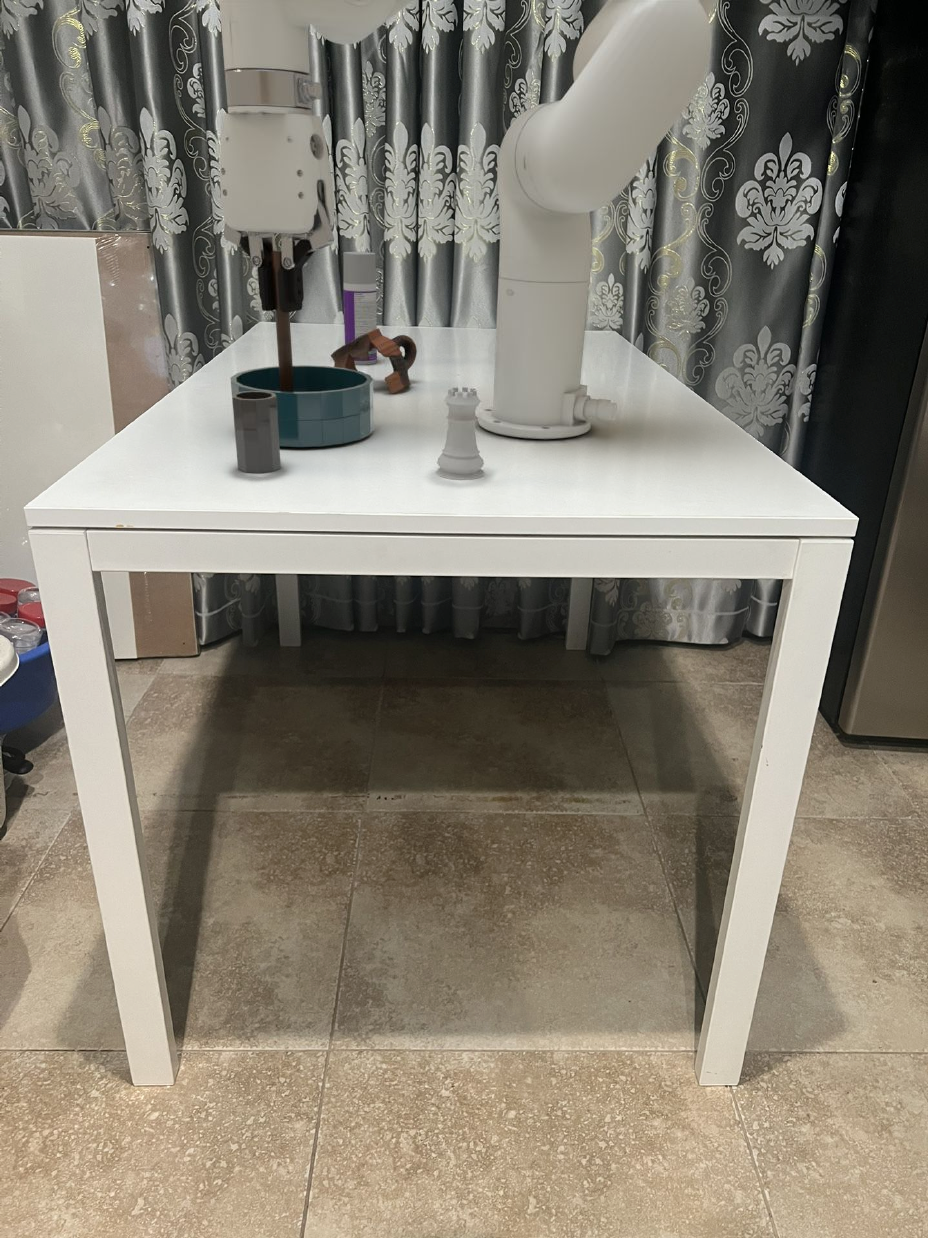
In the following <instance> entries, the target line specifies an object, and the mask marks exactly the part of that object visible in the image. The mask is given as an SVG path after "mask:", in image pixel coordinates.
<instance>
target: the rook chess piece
mask: <svg viewBox="0 0 928 1238" xmlns="http://www.w3.org/2000/svg"><path fill="white" fill-rule="evenodd" d="M447 391H448V393H447V396H446V397H445V398H444V400H443V401H444V403H445V405H446V406H447V409H448V414H447V415H446V420H447V425H448V426H447V434H446V440H445V444H444V448H443V449H442V450H441V454H440V455H439V457H438V458H437V460H436V464H437V465H438V466H439V467H438V469H437V470H436V471H435V473H436V474H437V476H439V477H441V478H444V479H448V480H455V481H457V480H458V481H471V480H476V479H479V478H482V477H484V475H485V471H483V469H482V468H483V466H484V465H485V460H484V459H483V457H482V456H481V454H480V452H481V451H480V450H479V448H478V444H477V435H476V421H478V416H477V415H476V410H477V408H478V406H479V405H480V403H481V402H482V401H481V399H480V397H479V396H478V390H477V389H476V388H474V387H470V388H469V386H462V390H461V391H459V387H458V386H454V387H452V388H451V387H449V388H448V389H447Z"/></svg>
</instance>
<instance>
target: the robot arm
mask: <svg viewBox="0 0 928 1238" xmlns="http://www.w3.org/2000/svg"><path fill="white" fill-rule="evenodd" d="M414 1H415V0H218V4H219V13H220V14H219V16H220V27H221V41H222V50H223V51H222V54H223V65H224V66H223V67H224V82H225V92H226V104H227V105H226V106H227V113H223V114H222V120H221V130H220V131H221V132H220V141H219V142H220V143H219V144H220V145H219V146H220V147H219V178H220V179H219V182H220V183H219V185H220V200H221V208H222V216H223V219H224V222H225V223H224V228H223V238H224V239H225V240H226V241H228V242H230V243H232V244H234V245H236V246H238V247H241V249H242V250H243V251H244V252H245V253H246V255H247V256H248V257H249V258H250V262H251V265H252V266H253V267H254V268H257V280H258V281H257V282H258V293H259V294H258V295H259V299H260V300H261V301H260V302H261V303H260V305H261V310H262V311H263V312H271V311H275V302H274V287H273V271H272V256H271V251H273V250H277V246H276V235H275V234H280V243H281V244H280V245H281V247H280V248H281V249H280V250H282V266H283V269H278V272H277V276H278V292H279V307H280V311H282V312H284V313H292V312H298V311H301V310H302V309H303V301H304V299H305V298H304V297H305V296H304V293H305V292H304V279H303V277H304V276H303V275H304V274H303V268H305V267H307V265H308V262H309V260H310V259H311V257H312V256H313V255H314V253H315V252H316V251H319V250H322V249H324V248H326V247H329V246H331V245H333V244H334V243H335V237H334V233H333V231H332V228H333V227H334V224H335V201H334V190H333V179H332V172H331V164H330V157H329V151H328V145H327V140H326V136H325V132H324V131H325V130H324V127H323V122H322V119H321V116H319V115H313V113H312V112H313V111H312V109H314V104H313V102H314V101H315V100H321V99H322V97H323V87H322V85H321V83H320V82H318V81H312V75H311V73H310V71H311V70H310V48H309V45H310V44H309V27H310V26H312V28H314V30H315V31H316V32H317V33H318V34H319V35H320V36H321V37H322V38H324V39H326V40H328V41H329V42H331V43H335V44H338V45H353V44H356V43H359V42H361V41H363V40H365V39H366V38H368V36H371V34H372V33H374V32H375V31H376V30H378V29H379V28H380V27H381V26H383V25H384V24H385V23H387V22H388V21H389V20H390V19H392V18H393V17H395V16H396V15H397V14H398V13H399V12H401V11H402V10H404V9H405V8H406V7H408V6H409V5H410V4H412V3H413V2H414ZM718 1H719V0H607V1H606V2H605V4H604V5H603V6H602V7H601V9H600V10H599V12H598V13H597V14H596V15H595V16H594V18H593V19H592V20H591V21H590V23H589V24H588V26H587V27H586V29H585V30H584V32H583V34H582V35H581V37H580V39H579V42H578V44H577V45H576V49H575V53H574V58H573V62H572V63H573V64H572V76H573V77H572V78H573V83H572V85H571V86H570V87H569V89H568V90H567V92H566V93H565V94H564V95H563V97H562V98H561V99H560V100H553V101H550V102H545V103H540V104H538V105H535V106H532V107H530V108H529V109H527V110H525V111H524V112H522V113H521V114H520V115H518V117H516V118H515V119H514V120H513V122H512V123H511V124H510V126H509V127H508V129H507V130H506V132H505V135H504V136H503V139H502V141H501V144H500V148H499V151H498V158H497V167H496V172H497V173H496V177H497V182H496V183H497V197H498V211H499V254H498V255H499V257H498V258H499V259H498V279H497V280H498V281H497V302H496V303H497V306H496V325H495V351H494V372H493V390H492V391H493V394H492V406H488V407H485V408H483V409H481V410H480V411H479V412H478V416H477V423H478V425H479V426H480V427H481V428H483V429H484V430H486V431H489V432H491V433H495V434H499V435H502V436H506V437H514V438H521V439H522V438H523V439H534V440H535V439H536V440H540V439H541V440H553V439H564V438H565V439H566V438H571V437H577V436H580V435H584V434H586V433H587V432H589V431H590V430H591V425H592V419H597V420H600V421H609V422H614V421H615V420H616V416H617V411H618V405H617V402H612V399H604V398H591V395H588V385H587V384H581V381H582V380H581V379H582V368H583V356H584V344H585V334H586V333H585V331H586V322H587V321H586V320H587V310H588V309H587V308H588V295H589V285H590V277H591V267H592V266H591V265H592V225H591V224H592V223H591V213H590V212H594V211H597V210H599V209H601V208H603V207H605V206H607V205H608V204H610V203H612V201H613V200H614V199H616V198H617V197H618V196H619V195H621V193H622V192H623V191H624V190H625V189H626V187H627V186H629V184H630V183H631V182H632V180H633V179H634V178H635V176H636V175H637V174H638V173H639V171H640V170H641V169H642V167H643V166H644V164H645V163H646V162H647V161H648V160H649V158H650V157H651V155H652V154H654V152H655V150H656V149H657V147H658V146H659V145H660V144H661V142H662V141H663V139H665V137H666V135H667V134H668V133H669V131H670V130H671V129H672V127H673V126H674V125H675V124H676V122H677V121H678V119H679V118H680V116H681V115H682V114H683V113H684V111H685V110H686V108H687V107H688V105H690V103H691V101H692V100H693V98H694V97H695V95H696V94H697V92H698V90H699V88H700V86H701V84H702V82H703V80H704V78H705V75H706V73H707V70H708V67H709V63H710V59H711V53H712V29H711V24H710V20H709V18H708V16H709V15H710V13H711V12H712V11H713V9H714V7H716V5H717V3H718ZM308 233H312V234H311V235H310V236H308Z"/></svg>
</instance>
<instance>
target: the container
mask: <svg viewBox="0 0 928 1238" xmlns="http://www.w3.org/2000/svg"><path fill="white" fill-rule="evenodd" d="M376 267H377V265H376V253H375V252H369V251H344V252H343V321H344V322H343V323H344V325H343V327H344V345H345V344H347V343H349V342H350V341H352V340H354V339H356V338H358V337H360V336H362V335H364V334H366V333H368V332H370V331H372V330H374V329H378V319H377V315H378V314H377V312H378V311H377V302H378V301H377V272H376V271H377V269H376ZM368 355H369V357H370V360H360V359H355V360H354V362H355V365H358V366H360V365H361V366H365V365H375V364H377V363H378V351H377V349H376V348H373V349H372V350H370V351H369V353H368Z"/></svg>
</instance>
